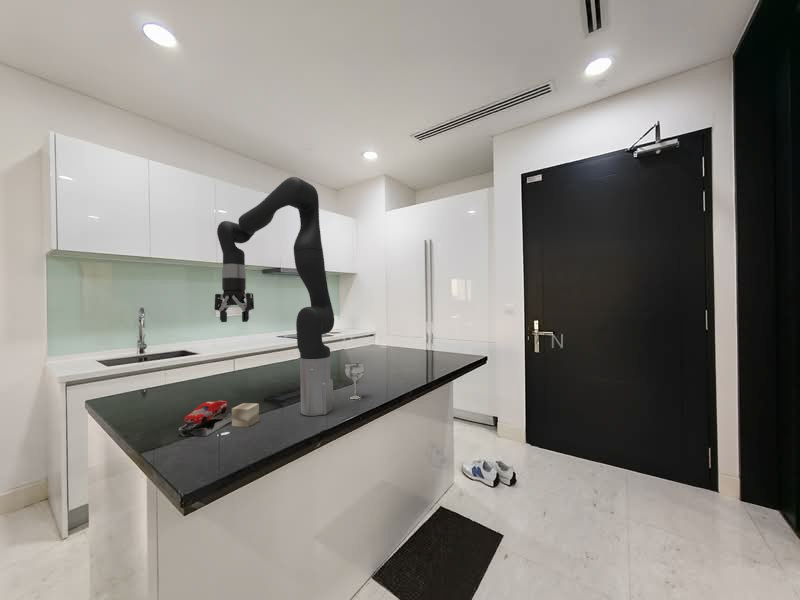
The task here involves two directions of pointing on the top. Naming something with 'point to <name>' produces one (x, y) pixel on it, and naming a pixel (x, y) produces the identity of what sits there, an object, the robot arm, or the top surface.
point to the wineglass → (354, 374)
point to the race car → (206, 412)
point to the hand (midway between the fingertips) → (234, 322)
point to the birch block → (245, 414)
